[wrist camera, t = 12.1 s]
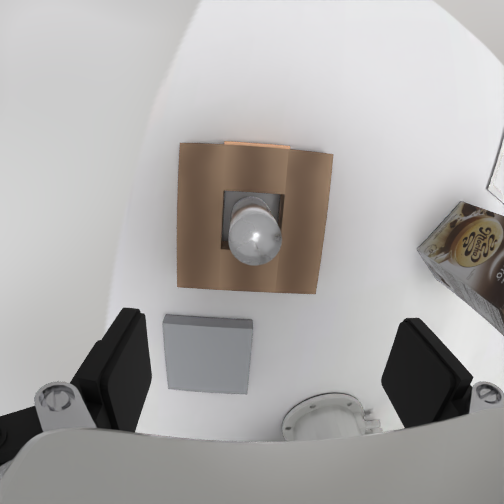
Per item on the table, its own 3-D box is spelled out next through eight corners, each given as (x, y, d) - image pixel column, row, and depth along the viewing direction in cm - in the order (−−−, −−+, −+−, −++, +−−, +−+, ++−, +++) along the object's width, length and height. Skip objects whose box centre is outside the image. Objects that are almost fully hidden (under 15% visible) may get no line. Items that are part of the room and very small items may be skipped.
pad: (252, 319, 36) (253, 329, 34) (246, 384, 39) (247, 394, 37) (165, 314, 35) (162, 323, 34) (170, 379, 39) (168, 388, 37)
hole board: (325, 150, 31) (333, 151, 28) (309, 282, 35) (315, 294, 32) (185, 140, 30) (180, 139, 27) (182, 275, 34) (177, 287, 31)
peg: (272, 197, 32) (284, 215, 23) (268, 236, 33) (279, 266, 25) (232, 195, 32) (229, 212, 23) (230, 233, 33) (227, 263, 24)
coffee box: (460, 198, 32) (557, 233, 17) (479, 234, 34) (565, 279, 19) (414, 249, 34) (501, 310, 19) (436, 282, 36) (515, 347, 20)
